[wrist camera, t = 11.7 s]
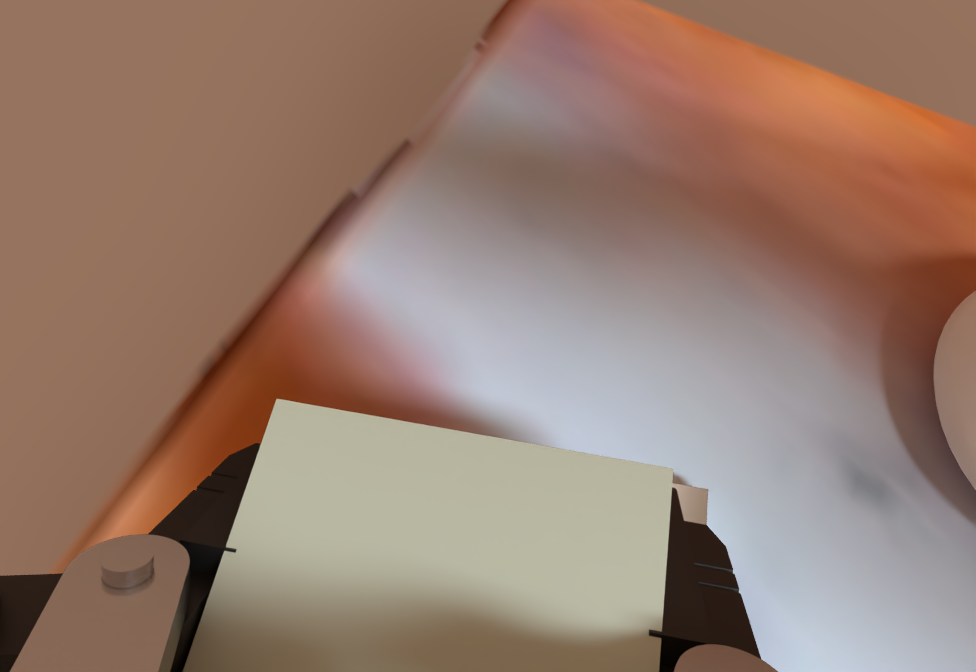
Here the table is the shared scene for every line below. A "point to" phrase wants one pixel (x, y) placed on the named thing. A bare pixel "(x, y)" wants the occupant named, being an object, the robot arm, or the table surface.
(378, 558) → the sage brick
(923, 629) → the table surface
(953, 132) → the table surface
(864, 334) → the table surface
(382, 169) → the table surface
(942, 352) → the flower in vase
